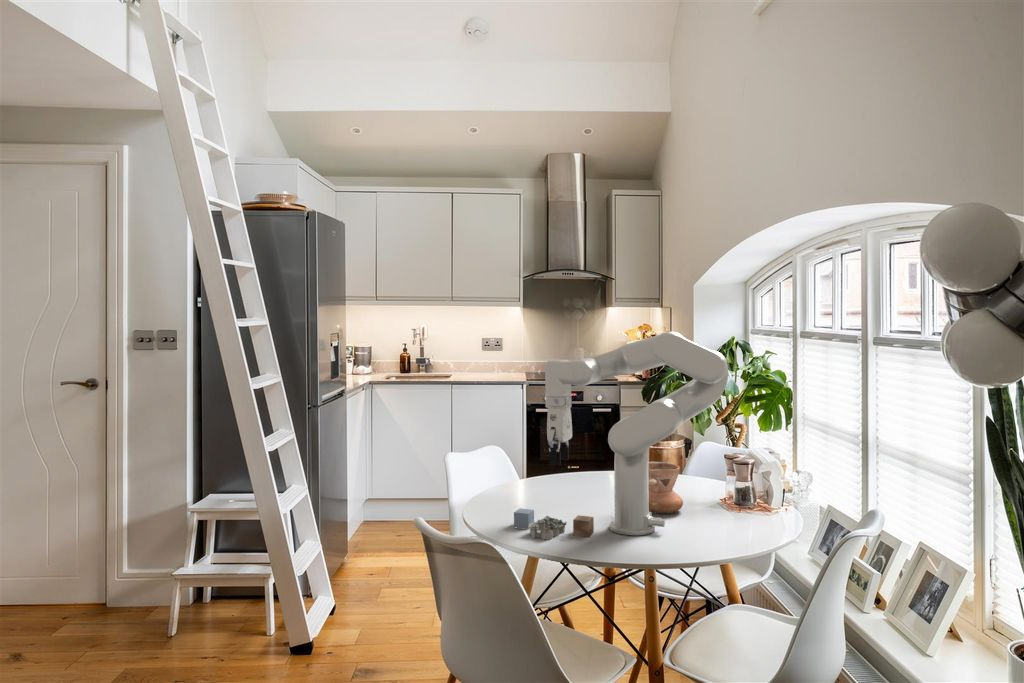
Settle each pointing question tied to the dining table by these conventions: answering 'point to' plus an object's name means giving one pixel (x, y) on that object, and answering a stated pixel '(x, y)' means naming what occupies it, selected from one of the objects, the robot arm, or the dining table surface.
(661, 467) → the ceramic jug
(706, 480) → the dining table surface
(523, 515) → the slate-blue block
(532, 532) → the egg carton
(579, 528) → the walnut block
